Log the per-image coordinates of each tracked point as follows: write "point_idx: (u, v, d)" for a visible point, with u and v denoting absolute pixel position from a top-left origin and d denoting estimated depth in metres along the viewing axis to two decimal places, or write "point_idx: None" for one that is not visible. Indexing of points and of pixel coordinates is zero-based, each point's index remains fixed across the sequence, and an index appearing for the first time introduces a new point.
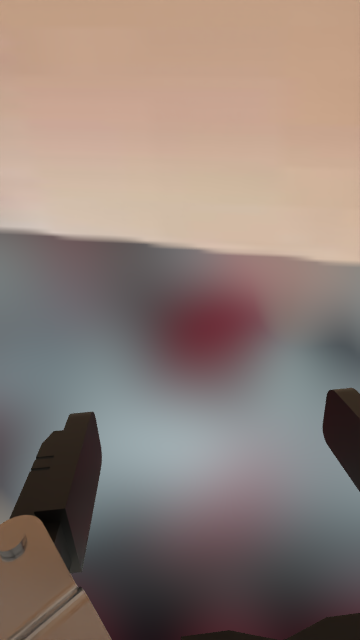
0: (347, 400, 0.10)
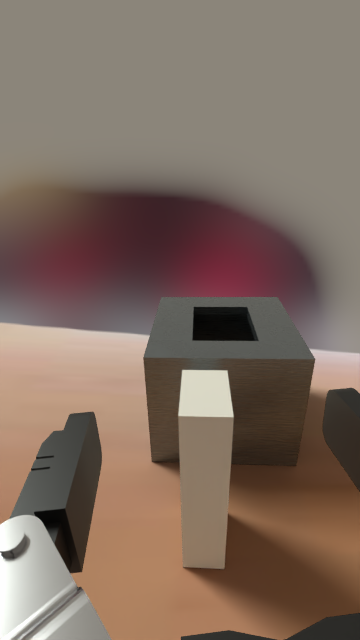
0: (347, 400, 0.10)
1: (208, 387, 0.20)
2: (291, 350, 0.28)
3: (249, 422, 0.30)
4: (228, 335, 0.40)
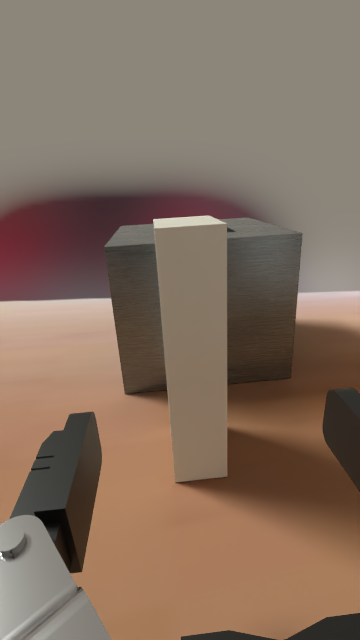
0: (347, 400, 0.10)
1: (188, 220, 0.16)
2: (274, 232, 0.24)
3: (235, 326, 0.25)
4: None
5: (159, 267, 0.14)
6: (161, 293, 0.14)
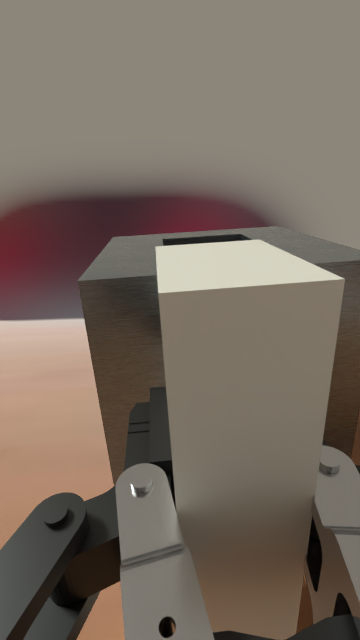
0: None
1: (229, 254, 0.08)
2: (339, 255, 0.16)
3: None
4: None
5: (170, 382, 0.06)
6: (174, 434, 0.06)
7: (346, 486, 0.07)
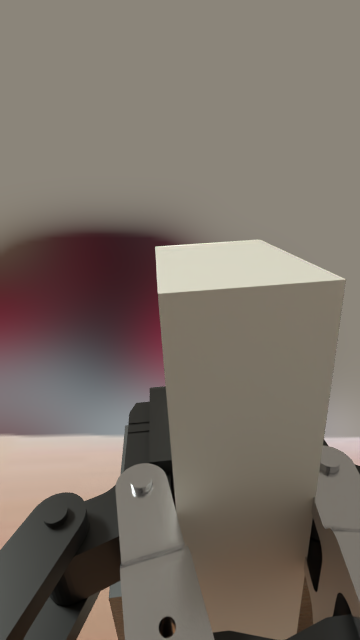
0: None
1: (229, 254, 0.08)
2: None
3: None
4: None
5: (170, 383, 0.06)
6: (174, 436, 0.06)
7: (346, 486, 0.07)
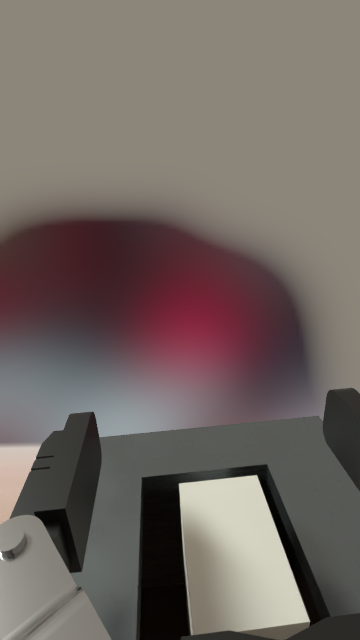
0: (347, 400, 0.10)
1: (235, 526, 0.11)
2: None
3: None
4: None
5: None
6: None
7: None
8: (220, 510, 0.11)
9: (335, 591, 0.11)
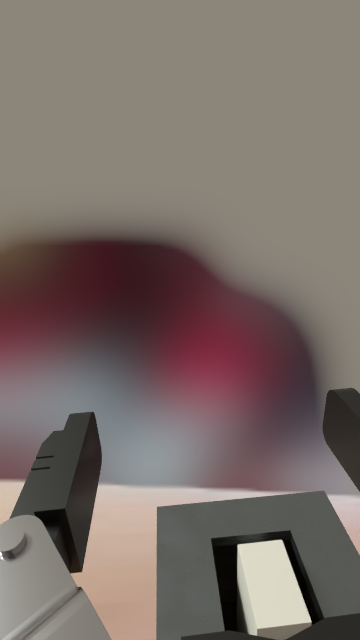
0: (347, 400, 0.10)
1: (272, 571, 0.20)
2: None
3: None
4: None
5: None
6: None
7: None
8: (263, 562, 0.21)
9: None
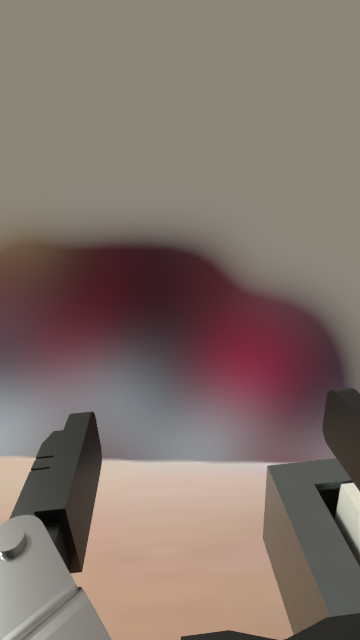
0: (347, 400, 0.10)
1: None
2: None
3: None
4: (338, 496, 0.38)
5: None
6: None
7: None
8: None
9: None
